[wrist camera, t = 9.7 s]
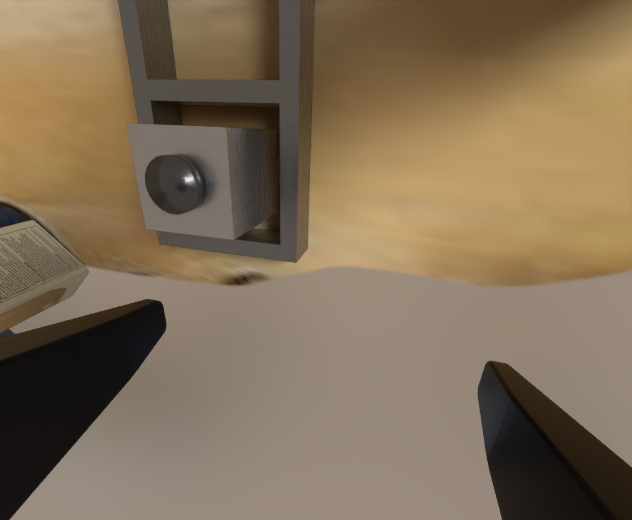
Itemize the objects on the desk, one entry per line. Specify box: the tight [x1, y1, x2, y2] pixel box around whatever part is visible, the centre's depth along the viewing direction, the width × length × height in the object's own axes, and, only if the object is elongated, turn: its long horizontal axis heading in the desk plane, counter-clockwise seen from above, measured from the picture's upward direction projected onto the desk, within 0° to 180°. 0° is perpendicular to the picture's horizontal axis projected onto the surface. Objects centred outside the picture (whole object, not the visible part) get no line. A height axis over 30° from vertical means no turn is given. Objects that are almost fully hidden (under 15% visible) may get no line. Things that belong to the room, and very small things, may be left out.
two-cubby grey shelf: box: [118, 0, 315, 263], centre depth 17 cm, size 10×18×2 cm, turn 178°
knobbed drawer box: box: [126, 123, 277, 240], centre depth 17 cm, size 5×5×7 cm
